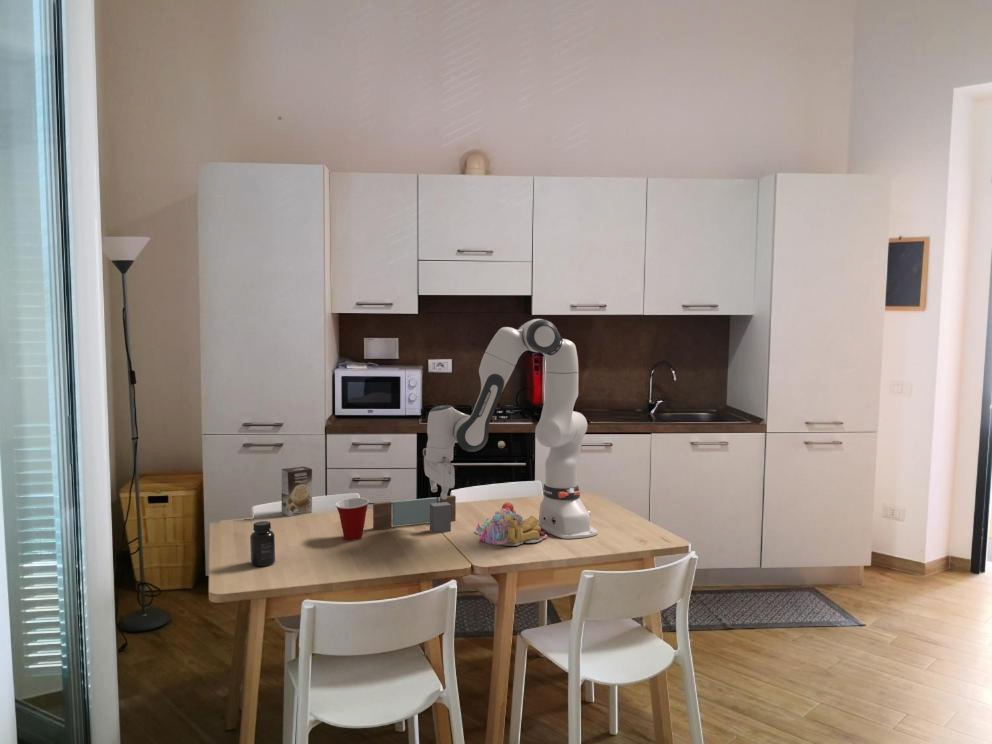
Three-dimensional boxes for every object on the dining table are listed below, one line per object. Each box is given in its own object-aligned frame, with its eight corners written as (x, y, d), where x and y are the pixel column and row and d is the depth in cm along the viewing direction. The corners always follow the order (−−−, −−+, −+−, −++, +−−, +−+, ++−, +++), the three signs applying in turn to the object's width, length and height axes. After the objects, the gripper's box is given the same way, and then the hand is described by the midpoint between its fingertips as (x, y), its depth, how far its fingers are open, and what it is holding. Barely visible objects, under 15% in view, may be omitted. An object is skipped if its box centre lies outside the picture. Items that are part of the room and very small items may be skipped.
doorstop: (450, 531, 268) (450, 504, 267) (433, 533, 265) (433, 506, 265) (446, 528, 271) (446, 501, 271) (429, 530, 269) (429, 503, 268)
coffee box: (289, 516, 283) (288, 472, 282) (281, 513, 288) (280, 468, 287) (312, 512, 289) (312, 468, 288) (304, 509, 294) (304, 465, 292)
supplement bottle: (277, 559, 237) (277, 519, 236) (272, 567, 230) (271, 526, 229) (254, 559, 237) (253, 519, 236) (247, 567, 230) (247, 526, 229)
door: (440, 520, 278) (440, 497, 278) (393, 526, 272) (393, 502, 271) (439, 520, 279) (439, 497, 279) (392, 525, 272) (392, 501, 272)
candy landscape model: (561, 537, 263) (562, 509, 262) (511, 553, 247) (511, 523, 246) (507, 521, 281) (507, 495, 280) (456, 535, 264) (457, 507, 264)
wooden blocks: (455, 520, 280) (455, 496, 280) (374, 529, 269) (374, 504, 268) (453, 519, 282) (454, 495, 281) (373, 528, 270) (373, 503, 269)
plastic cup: (332, 534, 262) (331, 498, 261) (365, 531, 266) (364, 495, 265) (338, 544, 252) (338, 506, 251) (372, 540, 256) (372, 503, 255)
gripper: (460, 460, 258) (458, 502, 259) (438, 447, 276) (437, 487, 278) (441, 461, 255) (440, 504, 257) (421, 448, 274) (420, 488, 275)
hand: (438, 495), depth 267 cm, fingers open, 8 cm apart
